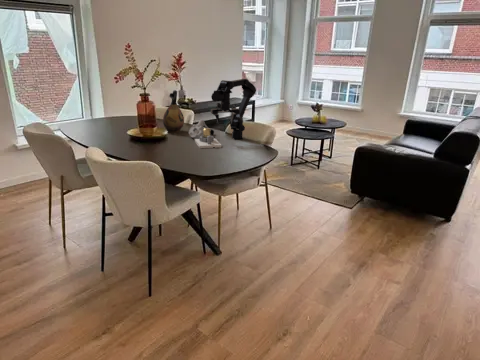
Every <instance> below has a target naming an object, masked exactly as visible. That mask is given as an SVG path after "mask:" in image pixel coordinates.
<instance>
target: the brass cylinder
mask: <svg viewBox="0 0 480 360" xmlns="http://www.w3.org/2000/svg"><path fill="white" fill-rule="evenodd" d="M203 128H204V129H203V135H202V136H203V138H207V136H211V135H210V129H211V128H210V127H208V128H205V127H203Z"/></svg>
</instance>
